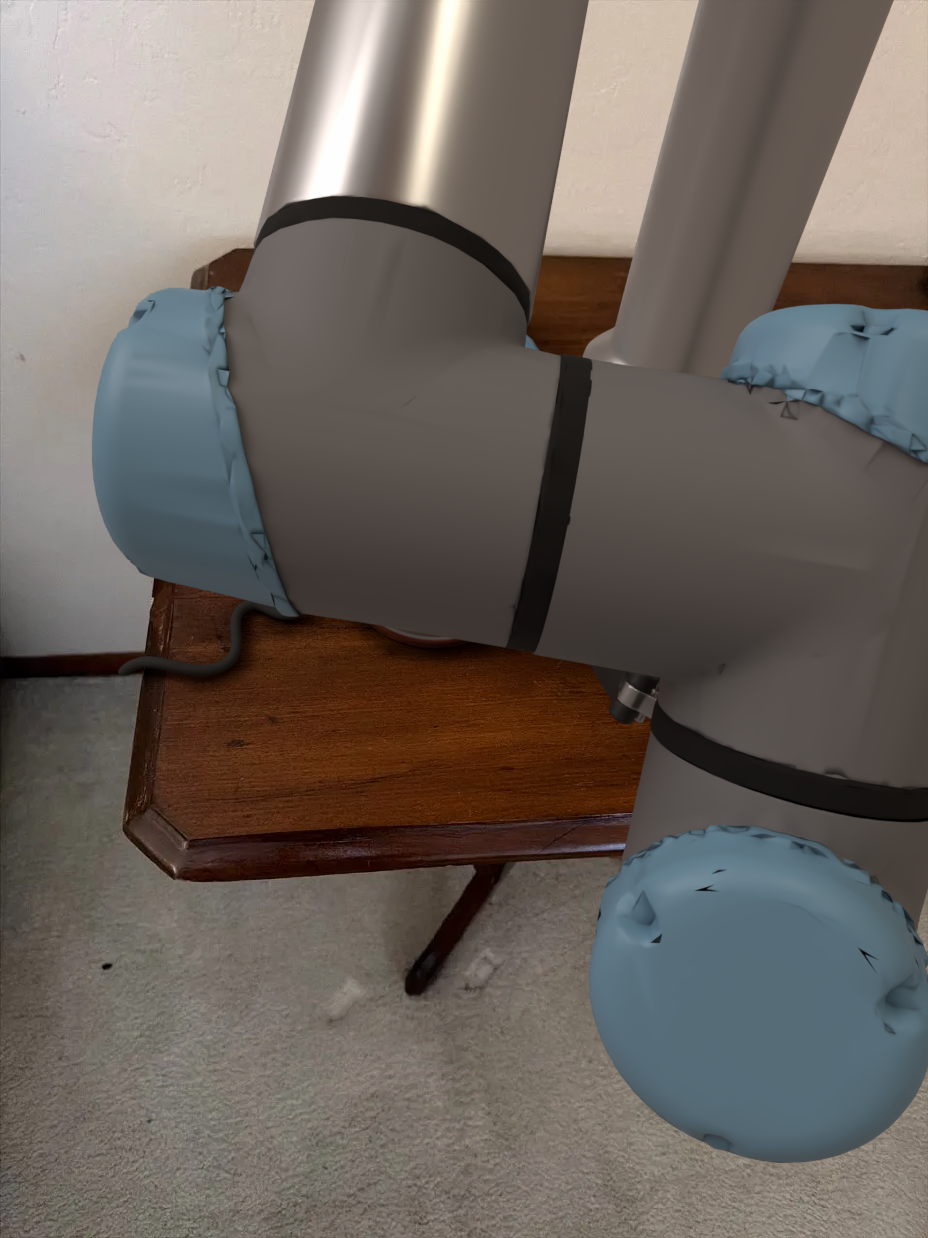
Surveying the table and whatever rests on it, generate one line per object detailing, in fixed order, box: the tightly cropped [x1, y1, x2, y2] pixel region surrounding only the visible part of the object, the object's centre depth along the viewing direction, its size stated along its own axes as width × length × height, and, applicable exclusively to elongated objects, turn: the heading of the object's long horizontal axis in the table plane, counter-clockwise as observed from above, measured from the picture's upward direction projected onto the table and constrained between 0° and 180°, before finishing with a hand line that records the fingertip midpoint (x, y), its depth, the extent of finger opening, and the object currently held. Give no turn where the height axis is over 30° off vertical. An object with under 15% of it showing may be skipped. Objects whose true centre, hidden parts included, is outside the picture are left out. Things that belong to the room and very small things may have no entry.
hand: (761, 697), depth 53 cm, fingers open, 13 cm apart
